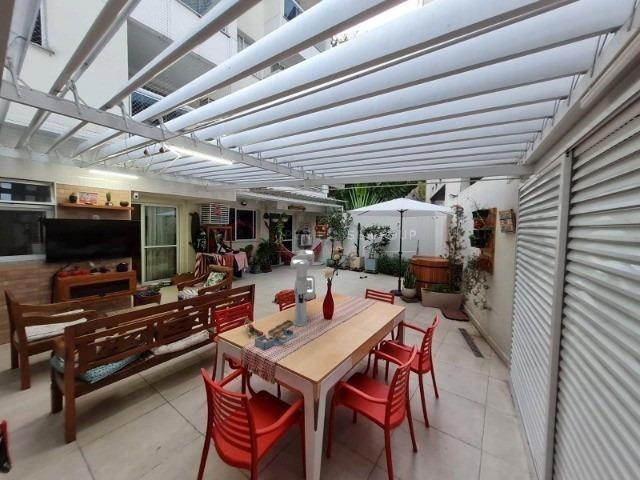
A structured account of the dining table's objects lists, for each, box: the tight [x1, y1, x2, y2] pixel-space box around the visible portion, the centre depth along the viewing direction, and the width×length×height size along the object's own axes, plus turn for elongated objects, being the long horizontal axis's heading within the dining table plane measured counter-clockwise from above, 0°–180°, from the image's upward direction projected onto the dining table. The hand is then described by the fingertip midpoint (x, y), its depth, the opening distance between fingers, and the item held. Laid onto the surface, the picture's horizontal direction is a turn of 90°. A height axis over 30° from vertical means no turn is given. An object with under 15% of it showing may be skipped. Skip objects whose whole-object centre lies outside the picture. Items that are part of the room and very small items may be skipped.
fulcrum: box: [268, 324, 298, 347], centre depth 189 cm, size 21×12×8 cm, turn 141°
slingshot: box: [243, 317, 264, 338], centre depth 195 cm, size 17×10×15 cm
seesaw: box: [267, 319, 294, 340], centre depth 187 cm, size 20×15×3 cm
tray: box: [254, 334, 276, 351], centre depth 178 cm, size 9×11×5 cm
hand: (300, 302), depth 184 cm, fingers closed
